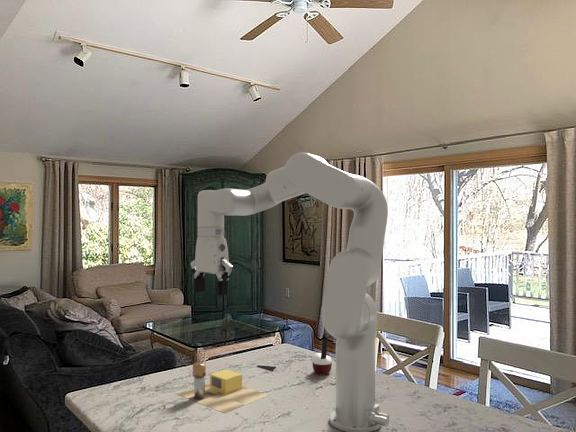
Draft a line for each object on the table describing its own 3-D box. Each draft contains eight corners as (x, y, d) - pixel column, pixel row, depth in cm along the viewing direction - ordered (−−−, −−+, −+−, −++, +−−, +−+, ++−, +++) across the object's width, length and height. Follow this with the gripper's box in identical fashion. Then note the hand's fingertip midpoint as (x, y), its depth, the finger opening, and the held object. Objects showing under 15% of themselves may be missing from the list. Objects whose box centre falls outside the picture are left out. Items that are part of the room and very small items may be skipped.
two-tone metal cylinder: (208, 396, 126) (208, 363, 127) (200, 400, 123) (200, 366, 124) (198, 394, 128) (198, 361, 128) (190, 398, 125) (190, 365, 125)
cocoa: (314, 370, 154) (313, 333, 155) (333, 370, 153) (332, 333, 154) (310, 378, 145) (308, 338, 146) (330, 378, 144) (328, 339, 144)
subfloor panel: (268, 399, 127) (268, 394, 128) (224, 418, 115) (224, 413, 115) (220, 383, 141) (220, 379, 141) (176, 398, 128) (176, 393, 128)
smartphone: (243, 381, 143) (243, 378, 143) (258, 366, 158) (258, 363, 158) (265, 383, 142) (265, 380, 142) (278, 367, 157) (278, 365, 157)
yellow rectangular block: (242, 388, 133) (242, 374, 133) (225, 394, 128) (225, 379, 128) (226, 382, 137) (226, 369, 137) (209, 388, 133) (209, 374, 133)
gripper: (241, 233, 130) (241, 294, 130) (202, 232, 142) (202, 289, 142) (220, 234, 125) (221, 298, 125) (181, 233, 136) (181, 291, 136)
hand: (210, 293), depth 133 cm, fingers open, 9 cm apart
